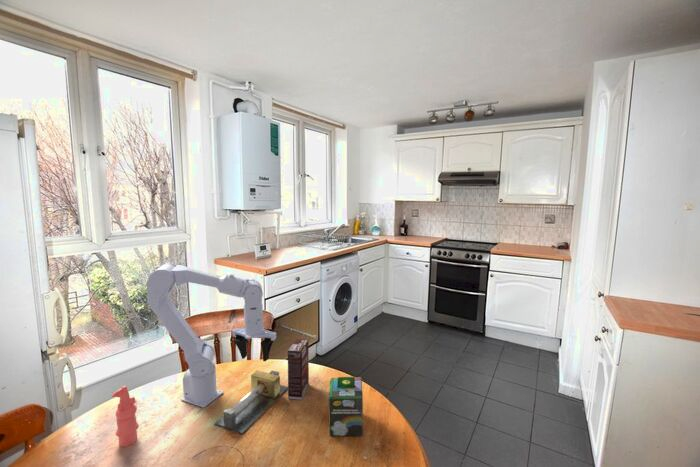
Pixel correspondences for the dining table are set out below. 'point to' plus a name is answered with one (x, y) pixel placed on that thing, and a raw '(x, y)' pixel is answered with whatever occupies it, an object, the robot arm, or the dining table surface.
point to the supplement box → (298, 369)
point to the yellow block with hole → (266, 377)
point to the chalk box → (346, 406)
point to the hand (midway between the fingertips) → (255, 358)
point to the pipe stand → (248, 408)
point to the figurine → (126, 418)
